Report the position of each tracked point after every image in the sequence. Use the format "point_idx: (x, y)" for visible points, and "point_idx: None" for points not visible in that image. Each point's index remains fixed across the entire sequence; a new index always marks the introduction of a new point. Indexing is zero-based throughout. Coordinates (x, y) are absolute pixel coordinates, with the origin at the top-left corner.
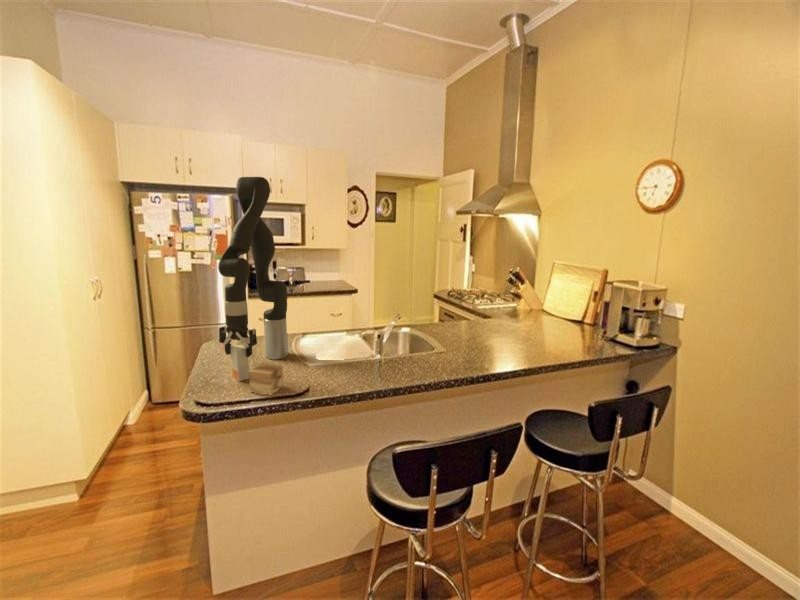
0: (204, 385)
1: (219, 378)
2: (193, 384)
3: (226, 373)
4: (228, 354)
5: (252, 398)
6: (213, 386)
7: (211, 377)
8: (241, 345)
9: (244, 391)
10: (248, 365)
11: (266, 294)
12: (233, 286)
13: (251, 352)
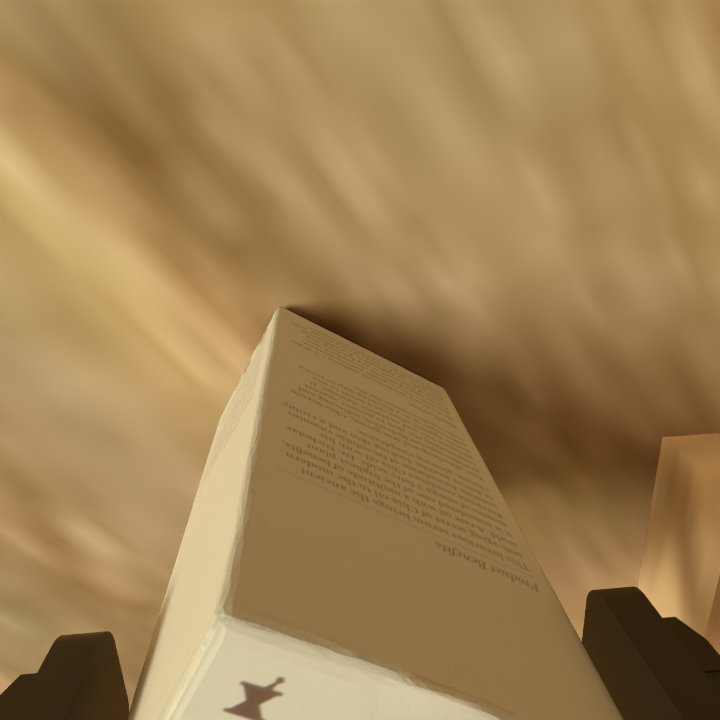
0: (130, 657)
1: (119, 495)
2: (11, 677)
3: (65, 356)
4: (126, 700)
5: None
6: None
7: (11, 505)
8: (298, 661)
9: (570, 621)
10: (492, 479)
11: None
12: None
13: (717, 683)
